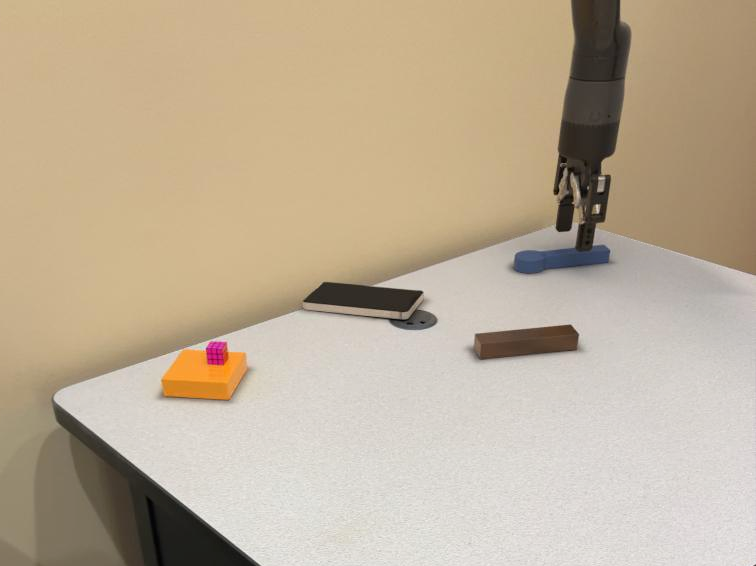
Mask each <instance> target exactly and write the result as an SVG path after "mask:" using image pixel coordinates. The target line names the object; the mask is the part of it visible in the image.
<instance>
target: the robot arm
mask: <svg viewBox="0 0 756 566" xmlns="http://www.w3.org/2000/svg"><path fill="white" fill-rule="evenodd" d="M570 10H571V22H572V30H573V45H572V51H571V59H570V65H569V66H570V67H569V74H568V80H567V85H566V87H565V93H564V97H563V105H562V113H561V121H560V128H559V135H558V144H557V152H558V155H557V156H558V157H557V165H556V170H555V177H554V184H553V189H552V192H553V196H556V203H557V205H558V206H557V213H556V219H555V220H556V221H555V231H556V232H558V233H566V232H570V231H571V230H572V228H573V221H574V215H575V214H574V213H575V209H577V212H578V222H579V223H578V226H577V233H576V240H575V246H574V248H575V249H576V250H577V251H578V252H586V251H590V250H591V249H592V246H594V239H595V233H596V227H597V224H603V223H605V221H606V219H607V218H606V217H607V211H608V203H609V202H608V201H609V197H610V196H609V195H610V189H611V182H612V176H611V174H609V173H608V174H602V163H603V162H604V160H605V159H607V158H610V157H612V156H613V155H614V154H615V152H616V149H617V142H618V136H619V130H620V125H621V118H622V112H623V107H624V101H625V92H626V91H625V90H626V76H627V70H628V65H629V59H630V52H631V47H632V35H633V34H632V28H631V26H630V25H629V24H628V23H627V22H626V21H623V20H621V0H570Z"/></svg>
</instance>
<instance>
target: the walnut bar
mask: <svg viewBox="0 0 756 566" xmlns="http://www.w3.org/2000/svg"><path fill="white" fill-rule="evenodd" d="M579 337H580V333H579V332H578V331H577V330H576V329H575V328H574V326H573V325H572V324H562V325H561V324H559V325H551V326H549V325H548V326H539V327H529V328H519V329H518V328H517V329H510V330H498V331H488V332H480V333H479V332H478V333H474V340H473V351H474V352H475V354H476V355H477V357H478V358H479V360H484V359H485V360H486V359H497V358H506V357H516V356H526V355H527V356H528V355H536V354H537V355H538V354H546V353H557V352H567V351H576V350H578V346H579V345H578V344H579Z"/></svg>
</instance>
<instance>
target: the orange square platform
mask: <svg viewBox="0 0 756 566" xmlns="http://www.w3.org/2000/svg"><path fill="white" fill-rule="evenodd" d="M247 363H248V362H247V353H246V352H244V351H243V352H241V351H229V349H228V342H227V341H217V340H216V341H215V340H210V342H209V343H208V344H207V346H206V347H205V350H201V349H182V350H181V352H180V353H179V354H178V356H177V357H176V359H175V360H173V362H172V364H171V365H170V367H169V368H168V369H167V370H166V372H165V373H164V375H163V376H162V377H161V379H160V382H161V387H162V393H163V396H164V397H171V398H173V397H174V398H190V399H203V400H205V399H207V400H222V401H223V400H224V401H229V400H230V399H231V397H232V395H233V394H234V392H235V390H236V389H237V387H238V385H239V383H241V381H242V379H243V377H244V376H245V374H246V372H247V370H248V364H247Z"/></svg>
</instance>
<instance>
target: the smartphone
mask: <svg viewBox="0 0 756 566" xmlns="http://www.w3.org/2000/svg"><path fill="white" fill-rule="evenodd" d="M424 297H425V292H424V291H423V290H419V289H408V288H397V287H387V286H376V285H366V284H365V285H364V284H355V283H354V284H353V283H344V282H343V283H342V282H332V281H322V282H321V283H320V284H319V285H318V286H317V287H316V288H314V290H313V291H311V293H309V294H308V295H307V296H306V297H305V298H304V299H303V300H302V309H303V310H306V311H307V310H308V311H317V312H327V313H336V314H344V315H345V314H347V315H354V316H355V315H356V316H365V317H375V318H386V319H393V320H394V319H395V320H408V319H409V318H410V317H411V316H412V314H413V313H414V312H415V311H416V309H417V308H418V307H419V306H420V305H421V303H422V302H423V301H424Z"/></svg>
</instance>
